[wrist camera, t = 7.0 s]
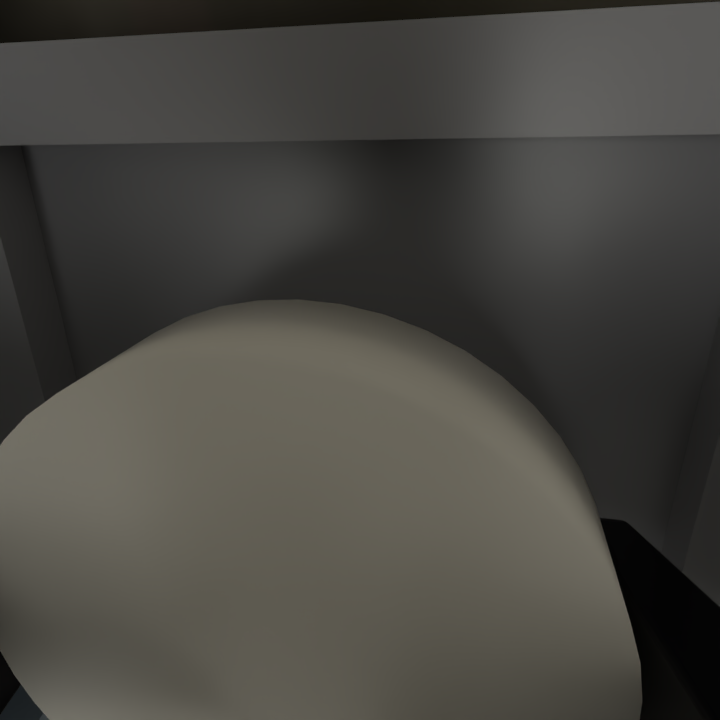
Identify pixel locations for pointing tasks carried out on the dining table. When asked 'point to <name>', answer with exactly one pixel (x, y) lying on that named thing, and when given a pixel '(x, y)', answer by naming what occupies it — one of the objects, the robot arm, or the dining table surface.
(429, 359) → the cream disc
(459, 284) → the tray
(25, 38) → the dining table surface
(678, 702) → the robot arm
